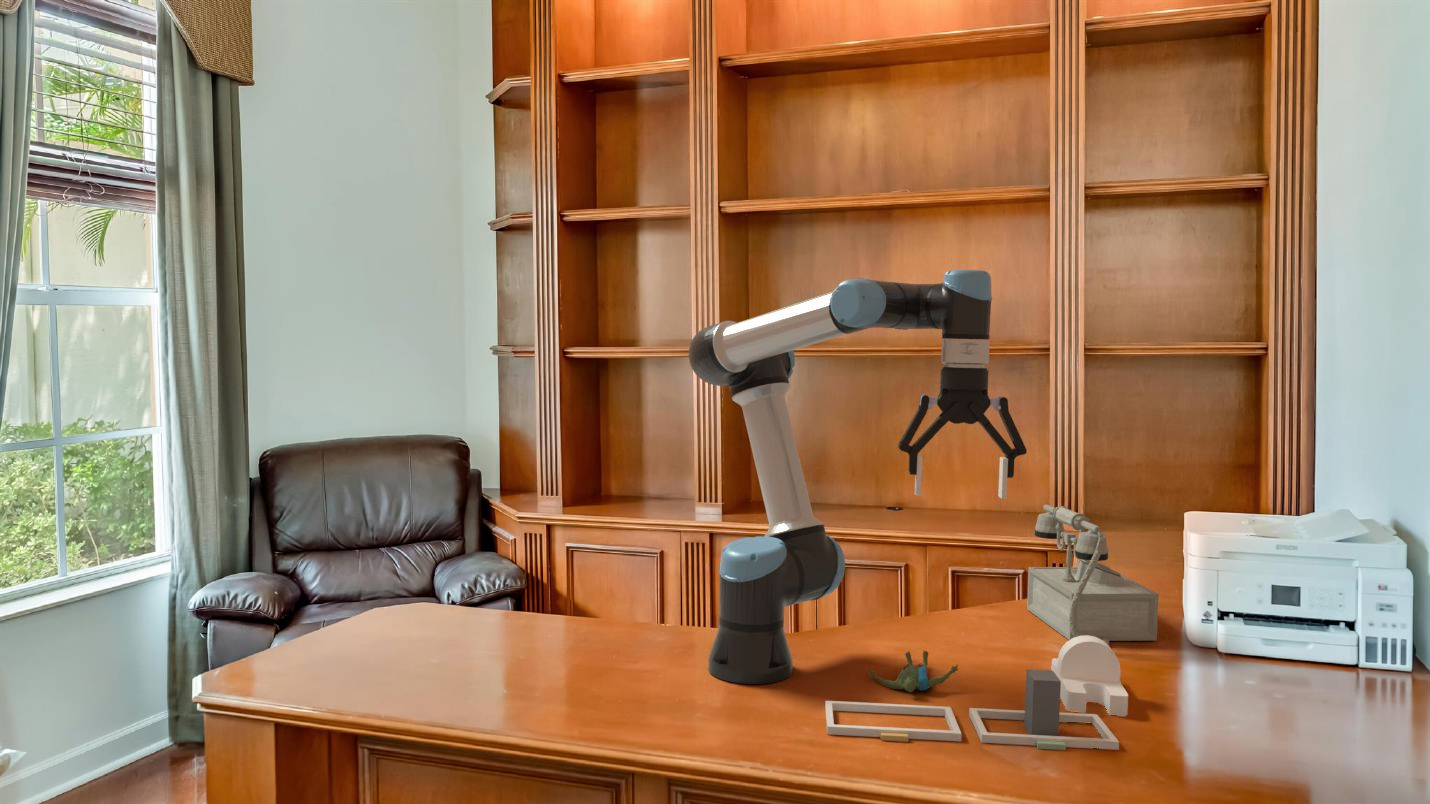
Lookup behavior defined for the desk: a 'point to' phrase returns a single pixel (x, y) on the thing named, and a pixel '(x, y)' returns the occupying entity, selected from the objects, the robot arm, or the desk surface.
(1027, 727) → the plug
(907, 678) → the figurine
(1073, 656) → the white slotted bracket
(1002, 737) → the socket
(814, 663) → the desk surface
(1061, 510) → the rotary telephone
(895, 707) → the socket
